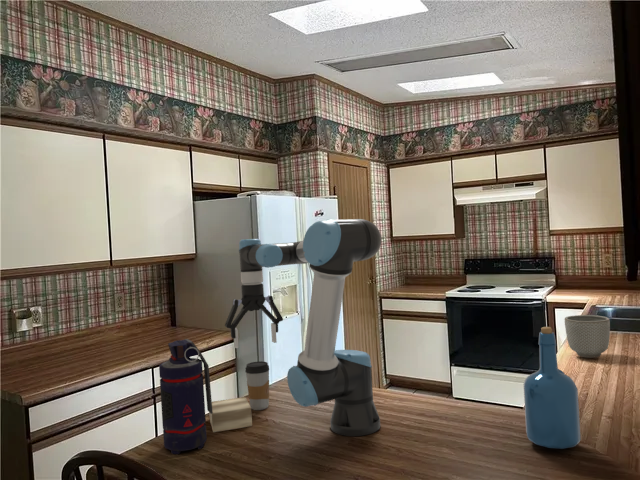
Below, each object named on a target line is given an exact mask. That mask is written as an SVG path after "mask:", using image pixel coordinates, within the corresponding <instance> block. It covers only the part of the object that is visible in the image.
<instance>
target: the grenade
mask: <svg viewBox="0 0 640 480" xmlns="http://www.w3.org/2000/svg"><path fill="white" fill-rule="evenodd" d="M167 345H168V348H169V351H170V357H169V359H168V360H166V361H164V362H162V363H160V364H159V366H158V368H159V369H158V370H159V373H158V374H159V378H160V379H159V387H160V388H159V389H160V401H161V402H160V404H161V405H160V407H161V419H162V422H161V423H162V435H163V447H164V448H165V449H166V450H169V451H170V452H171V454H172V455H179V454H181V452H185V451H189V450H193V449H194V450H195V449H198V450H201V449H202V448H203V447H204V446H205V443H206V441H207V438H208V437H207V425H206V424H207V423H206V421H207V420H206V408H207V412H210V413H211V414H212V413H213V411H212V402H213V401H212V392H211V391H212V390H211V379H210V368H209V367H210V365H209V364H208V362H207V361H206V359H205V357H204V355H203V353H202V352H201V351H200V349H199V348H198V347H197V346H196V344H195V343H194V342H193V341H192V340H190V339H188V338H184V339H182V340H181V339H178V340H174V341H173V342H169V343H168V344H167ZM195 356H197V357H195ZM203 373H204V374H203ZM204 385H205V386H204ZM204 388H205V389H204ZM205 396H206V397H205ZM205 398H206V404H205Z"/></svg>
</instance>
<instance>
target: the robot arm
mask: <svg viewBox="0 0 640 480" xmlns="http://www.w3.org/2000/svg"><path fill="white" fill-rule="evenodd" d="M381 246H382V235H381V232H380V230H379V228H378V227H377V226H376V224H375V223H373V222H372V221H369V220H367V219H363V218H353V219H352V218H350V219H324V220H318V221H315V222H314V223H313V224H312V225H310V226H309V227H308V228H307V230H306V231H305V233H304V238H303V240H299V241H294V242H282V243H279V242H278V243H263V244H262V242H261V240H260V239H259V238H247V239H240V240H239V244H238V248H239V249H238V254H239V267H240V281H241V284H242V285H241V299H237V298H233V299H232V306H231V308H230V312H229V314H228V316H227V318H226V321H225V323H224V326H225V328H227V329H230V338H231V339H232V340H233V345H234V346H233V348H235V349H239V348H240V347H239V346H240V345H239V343H240V342H239V331H238V330H239V329H238V328H237V326H238V324H240V322H241V321H242V319H243V318H244V316H246V314H247V313H248V311H249V312H253V311H260V310H261V311H262V312H263V313H264V315H266V316H267V317H268V318H269V319H270V321H272V323H270V329H271V331H270V332H271V342H272V343H274V344H275V343H276V344H277V342H278V341H277V333H279V324H280V322H283V320H284V318H283V316H282V314H281V313H280V311H279V309H278V307H277V306H276V304H275V301H274V297H273V296H272V295H268V296H265V293H264V283H263V281H264V277H263V268H274V267H275V268H276V267H280V266H291V265H304V264H305V265H306V264H309V266H308V267H309V269H310V270H311V271H312V272H313V278H312V279H313V280H312V287H311V289H312V290H311V296H310V303H309V310H308V311H309V312H308V319H307V320H308V321H307V326H306V335H305V343H304V350H302V351H301V352H300V353H299V354H298V356H297V364H296V365H293V366H291V367H289V369H288V371H287V375H286V378H287V379H286V380H287V386H288V389H289V391H290V394H291V396H292V397H293V400H294V401H295V402H296V403H297V404H298V405H300V406H301V407H304V408H306V407H311V406H317V405H319V404H323V403H325V402H329V401H333V400H334V404H333V408H332V412H331V417H330V422H329V424H330V430H331V431H332V432H333V433H335V434H336V435H340V436H345V437H346V436H347V437H360V436H367V435H371V434H373V433H376V432H378V431H379V430H380V429H381V418H380V415H379V413H378V411H377V407H376V405H375V402H374V395H373V394H374V393H373V376H372V375H373V373H372V368H373V367H372V362H371V356H370V354H369V353H368V352H366V351H362V350H356V349H337V350H336V346H337V345H336V344H337V339H338V331H339V324H340V316H341V310H342V303H343V295H344V290H345V282H346V278H347V277H348V276H349V275H351V274H352V273H353V272H352V271H353V265H354V263H355V262H360V261H366V260H369V259H371V258H374V256H375V255H377V254H378V252H379V250H380V249H381ZM264 303H268V305H269V308H271V311H272V312H273V314H274V315H275V316H274V315H273V314H272V313H271V312H270V310H268V308H267V307H266V306H265V305H264ZM240 305H242V307H241V309H240V311H239V312H238V314H237V315H236V313H237V310H238V307H239V306H240ZM235 315H236V316H235Z"/></svg>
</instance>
